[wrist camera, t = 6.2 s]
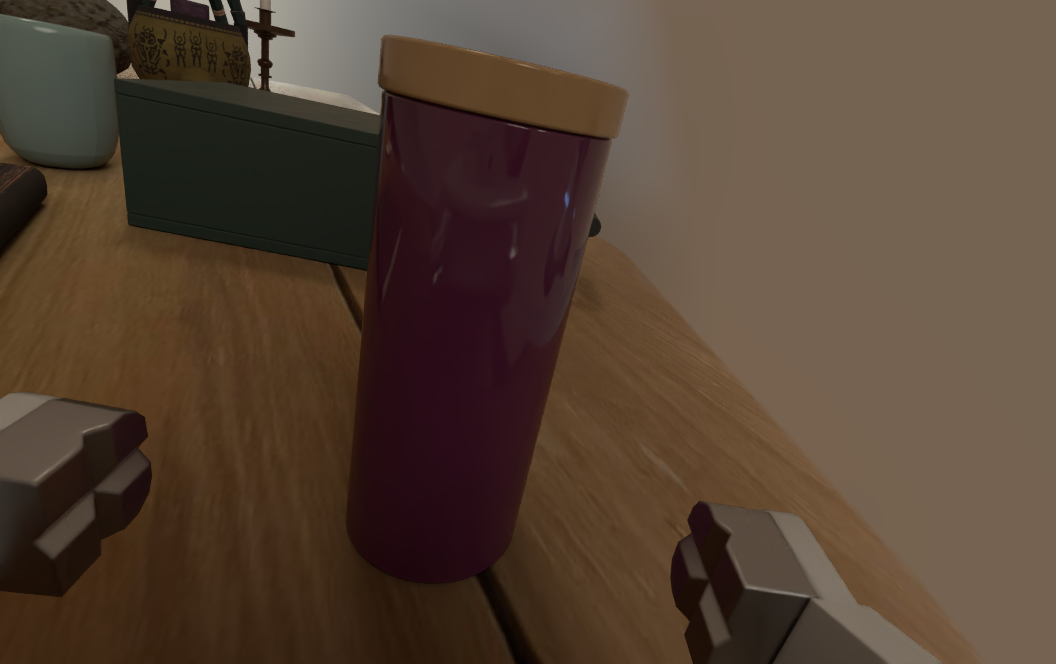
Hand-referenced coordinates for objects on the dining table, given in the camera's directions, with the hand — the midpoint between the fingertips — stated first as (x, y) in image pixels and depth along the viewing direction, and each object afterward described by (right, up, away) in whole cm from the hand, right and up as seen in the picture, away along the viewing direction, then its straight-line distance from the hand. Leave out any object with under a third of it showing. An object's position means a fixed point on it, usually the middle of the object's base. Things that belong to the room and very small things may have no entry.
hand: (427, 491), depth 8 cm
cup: (-36, +16, +35) cm, 53 cm away
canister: (-1, -3, +9) cm, 10 cm away
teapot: (-37, +25, +54) cm, 70 cm away
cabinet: (-16, +10, +32) cm, 38 cm away
